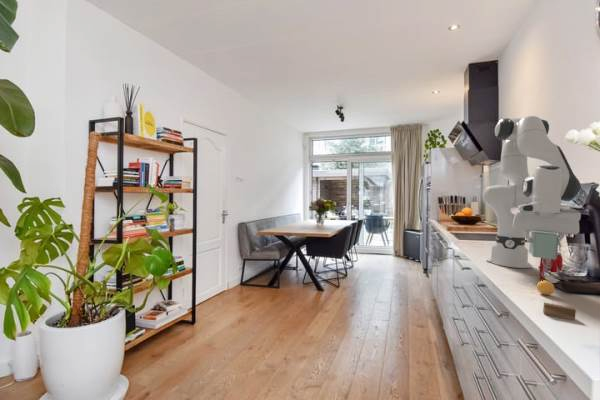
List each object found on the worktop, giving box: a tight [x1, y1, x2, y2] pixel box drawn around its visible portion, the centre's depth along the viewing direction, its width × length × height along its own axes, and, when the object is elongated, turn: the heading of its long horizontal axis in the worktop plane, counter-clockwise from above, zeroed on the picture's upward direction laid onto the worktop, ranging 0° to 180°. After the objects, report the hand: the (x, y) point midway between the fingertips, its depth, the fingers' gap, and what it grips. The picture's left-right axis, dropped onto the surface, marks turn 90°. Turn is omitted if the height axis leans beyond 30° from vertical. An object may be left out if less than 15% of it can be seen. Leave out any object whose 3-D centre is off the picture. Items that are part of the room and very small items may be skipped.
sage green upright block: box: [528, 231, 560, 260], centre depth 121 cm, size 11×7×9 cm, turn 150°
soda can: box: [538, 251, 564, 281], centre depth 128 cm, size 7×7×12 cm
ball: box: [536, 280, 556, 296], centre depth 112 cm, size 5×5×5 cm
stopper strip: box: [542, 302, 577, 321], centre depth 93 cm, size 2×7×3 cm, turn 60°
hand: (543, 243), depth 121 cm, fingers closed on sage green upright block, 7 cm apart
